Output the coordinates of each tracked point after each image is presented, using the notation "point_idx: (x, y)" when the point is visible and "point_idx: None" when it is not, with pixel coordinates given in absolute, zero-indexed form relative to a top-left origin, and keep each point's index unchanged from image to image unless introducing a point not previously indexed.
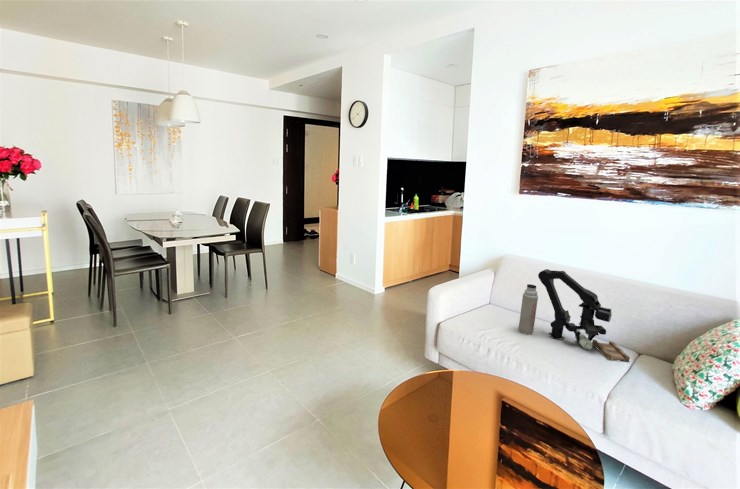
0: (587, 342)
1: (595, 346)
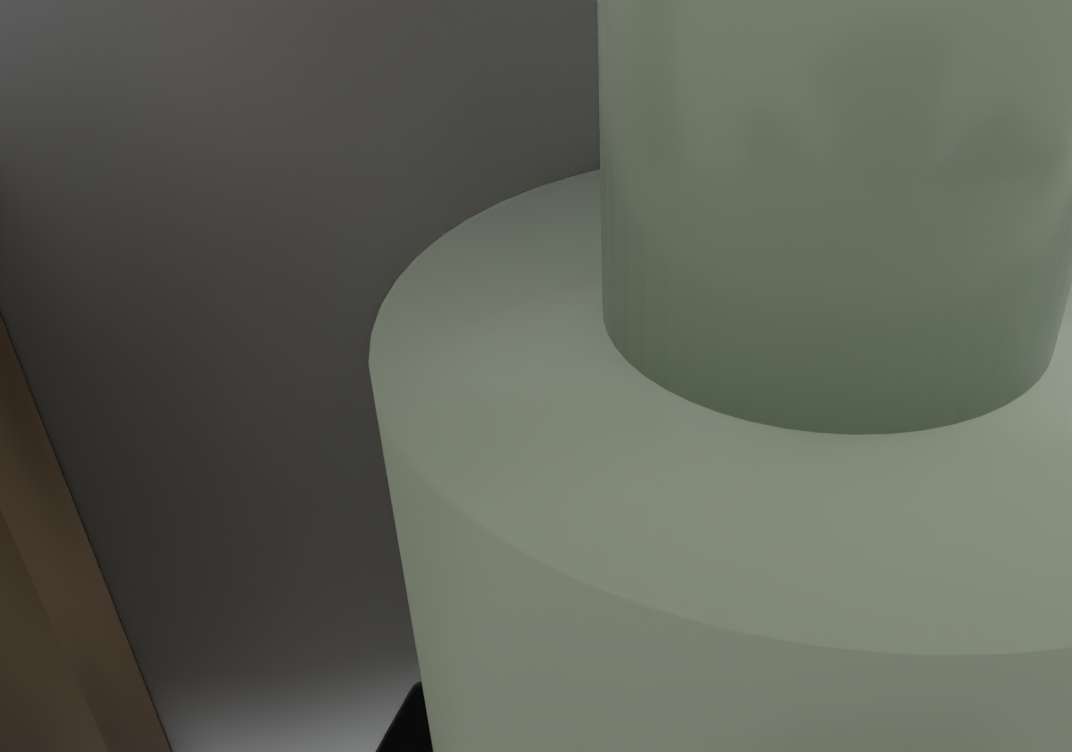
0: (916, 455)
1: (82, 587)
